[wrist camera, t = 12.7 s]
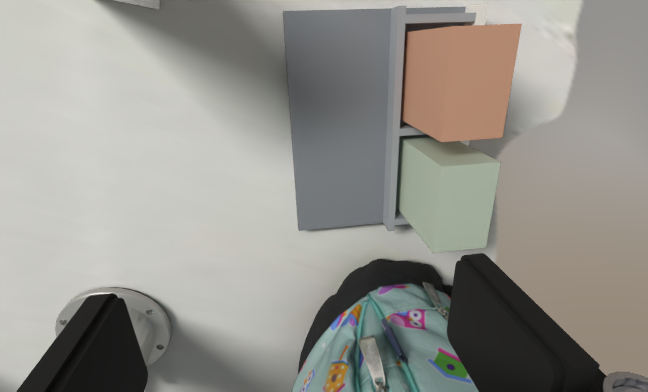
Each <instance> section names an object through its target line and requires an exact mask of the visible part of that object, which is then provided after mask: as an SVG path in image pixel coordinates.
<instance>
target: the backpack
mask: <svg viewBox="0 0 648 392" xmlns="http://www.w3.org/2000/svg"><path fill="white" fill-rule="evenodd" d="M452 288H453V286H450V285H444V284H442V280H441V278H440V276H439V275H438V273H437V272H436V271H435V270H434V269H433V268H432V267H431V266H430V265H428V264H424V265H423V264H421V263H412V262H409V261H386V260H384V259H377V260H374V261H372V262H370V263H369V264H367V265H365V266H364V267H360V268H358V269H356V270H354V271H353V272H352V273H350V274H349V275H348V276H347V277H346V279H345V280H344V281H343V283H342V285H341V286H340V288H339V290H338V292H337V293H336V294H335V295H333V296H331V297H329V298H328V299H327V300H326V301H325V303H324V304H323V305H322V307H321V308H320V310H319V311H318V313H317V315H316V317H315V319H314V322H313V324H312V326H311V328H310V331H309V333H308V335H307V337H306V340H305V343H304V346H303V349H302V352H301V356H300V362H299V369H298V377H297V379H296V381H295V384H294V386H293V389H292V392H479V391H478V389H477V388H476V386H475V384H474V383H473V381H472V379H471V378H470V376H469V374H468V373H467V371H466V369H465V368H464V366H463V364H462V363H461V361H460V359H459V358H458V356H457V354H456V353H455V351H454V349H453V348H452V346H451V344H450V342H449V340H448V337H447V324H448V317H449V310H450V303H451V296H452Z"/></svg>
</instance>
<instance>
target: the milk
mask: <svg viewBox="0 0 648 392" xmlns="http://www.w3.org/2000/svg"><path fill="white" fill-rule="evenodd" d="M115 1H120V2H124V3H129V4H134V5H139V6H144V7H149V8H154V9H160V0H115Z"/></svg>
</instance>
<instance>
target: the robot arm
mask: <svg viewBox="0 0 648 392" xmlns="http://www.w3.org/2000/svg"><path fill="white" fill-rule="evenodd" d="M55 331H56V337H57V338H56V339H55V341H54V342H53V343H52V345H51V346H50V347H49V349H48V350H47V351H46V353H45V354H44V355H43V357H42V358H41V360H40V361H39V362H38V364H37V365H36V366H35V368H34V369H33V370H32V372H31V373H30V374H29V376H28V377H27V378H26V380H25V381H24V382H23V384H22V385H21V386H20V388H19V389H18V390H17V392H144V389H145V386H146V383H147V378H148V371H147V366H149V365H151V364H152V363H154V362H156V361H157V360H158V359H159V358H160V357H161V356H162V355H163V353H164V352H165V351H166V349H167V346H168V344H169V341H170V337H171V325H170V321H169V319H168V317H167V315H166V313H165V312H164V311H163V309H162V308H161V307H160V306H159V305H158V304H157V303H155V302H154V301H153V300H152V299H150V298H148V297H146V296H145V295H143V294H140V293H137V292H135V291H132V290H127V289H122V288H99V289H94V290H90V291H87V292H84V293H82V294H80V295H78V296H77V297H75V298H73V299H72V300H71V301H70V302H69V303H68V304H67V305H66V306H65V307H64V309H63V310H62V311H61V313H60V314H59V316H58V318H57V321H56V327H55ZM447 337H448V340H449V342H450V344H451V346H452V348H453V349H454V351H455V353H456V354H457V356H458V358H459V359H460V361H461V363H462V364H463V366H464V368H465V369H466V371H467V373H468V374H469V376H470V378H471V379H472V381H473V383H474V384H475V386H476V388H477V389H478V391H479V392H648V378H646V377H644V376H641V375H637V374H633V373H629V372H615V373H611V374H609V375H608V376H606V375H605V374H604V373H602V372H601V371H600V369H599V364H598V363H597V362H596V361H595V360H594V359H593V358H592V357H591V356H590V355H589V354H588V353H587V352H585V351H584V349H582V348H581V347H580V346H579V345H578V344H577V343H576V342H575V341H574V340H573V339H572V338H571V337H570V336H569V335H568V334H567V333H566V332H565V331H564V330H563V329H562V328H561V327H560V326H559V325H557V323H556V322H554V321H553V320H552V318H550V317H549V316H548V315H547V314H546V313H545V312H544V311H543V310H542V309H541V308H540V307H539V306H538V305H537V304H536V303H535V302H534V301H533V300H532V299H531V298H530V297H529V296H528V295H527V294H526V293H525V292H524V291H522V289H521V288H520V287H518V286H517V285H516V284H515V283H514V282H513V281H512V280H511V279H510V278H509V277H508V276H507V275H506V274H505V273H504V272H503V271H502V270H501V269H500V268H499V267H498V266H497V265H496V264H495V263H494V262H493V261H492V260H491V259H490V258H489V257H488V256H486V255H485V254H482V253H480V254H471V255H464V256H462V258H461V261H457V263H456V267H455V274H454V281H453V288H452V296H451V303H450V310H449V317H448V324H447Z"/></svg>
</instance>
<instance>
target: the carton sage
mask: <svg viewBox="0 0 648 392" xmlns="http://www.w3.org/2000/svg"><path fill="white" fill-rule="evenodd" d="M500 164H501V162H500V161H498V160H496V159H494V158H492V157H490V156H488V155H486V154H484V153H482V152H480V151H478V150H476V149H473V148H471V147H469V146H467V145H465V144H463V143H461V142H459V141H452V142H440V141H438V140H436V139H435V138H433V137H431V136H429V135H426V136H411V137H400V140H399V158H398V177H397V195H396V207H397V208H398V209H399V211H400V212H401V213H402V215H403V216H404V217H405V218H406V220H407V221H408V222H409V224H410V225H411V226H412V227H413V229H414V230H415V231H416V233H417V234H418V235H419V236H420V238H421V239H422V240H423V241H424V243H425V244H426V245H427V247H428V248H429V249H430V250H431V252H432V253H439V252H448V251H458V250H467V249H477V248H486V244H487V239H488V233H489V227H490V221H491V216H492V210H493V204H494V199H495V193H496V187H497V181H498V176H499V170H500Z"/></svg>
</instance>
